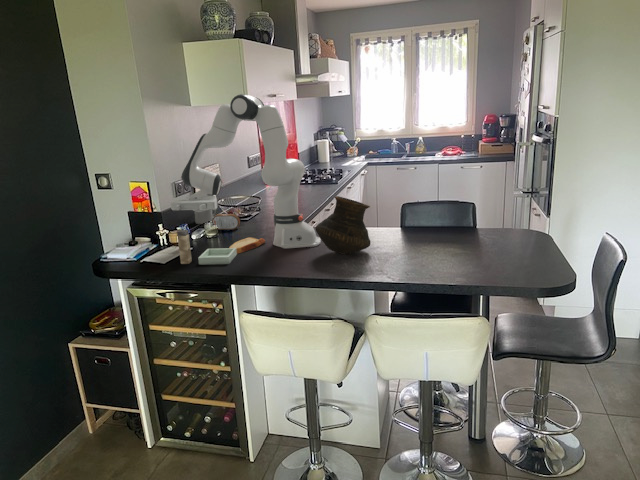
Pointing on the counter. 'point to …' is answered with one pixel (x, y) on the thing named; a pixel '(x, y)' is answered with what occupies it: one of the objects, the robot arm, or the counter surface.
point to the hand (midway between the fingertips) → (188, 208)
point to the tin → (226, 221)
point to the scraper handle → (184, 246)
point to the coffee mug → (204, 216)
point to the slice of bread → (247, 244)
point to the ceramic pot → (345, 227)
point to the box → (218, 256)
